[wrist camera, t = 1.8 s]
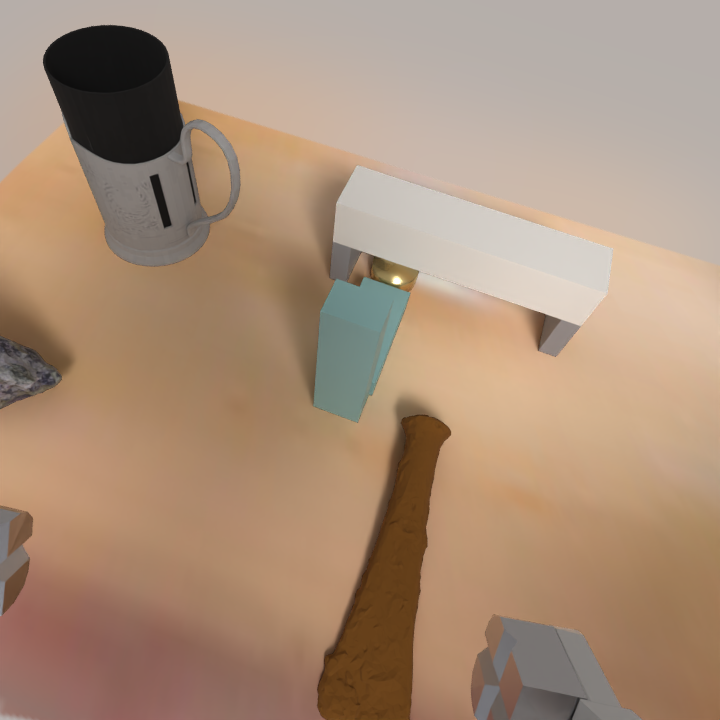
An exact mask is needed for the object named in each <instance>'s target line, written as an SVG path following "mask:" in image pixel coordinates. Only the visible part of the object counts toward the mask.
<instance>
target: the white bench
mask: <svg viewBox="0 0 720 720" xmlns="http://www.w3.org/2000/svg"><path fill="white" fill-rule="evenodd" d="M361 251H362V252H365V253H368V254H371V255H374V256H377V257H380V258H383V259H386V260H388V261H391V262H394V263H397V264H400V265H403V266H406V267H409V268H412V269H415V270H418V271H421V272H424V273H427V274H429V275H432V276H435V277H438V278H441V279H444V280H447V281H450V282H453V283H456V284H459V285H462V286H465V287H467V288H470V289H473V290H476V291H479V292H482V293H485V294H488V295H491V296H494V297H497V298H500V299H503V300H506V301H508V302H511V303H514V304H517V305H520V306H523V307H526V308H529V309H532V310H535V311H538V312H541V313H544V314H546V316H545V321H544V326H543V331H542V335H541V340H540V345H539V350H538V351H541V352H543V353H546V354H549V355H552V356H555V357H556V356H557V355H558V354H559V352H560V351H561V350H562V349H563V348H564V346H565V345H566V344H567V343H568V341H569V340H570V339H571V338H572V337H573V335H574V334H575V333H576V332H577V330H578V329H579V328H580V327H581V326H582V324H583V323H584V322H585V321H586V319H587V318H588V317H589V316H590V314H591V313H592V312H593V311H594V310H595V308H596V307H597V306H598V305H599V303H600V302H601V301H602V300H603V299H604V297H605V296H606V295H607V293H608V286H609V278H610V271H611V263H612V255H613V249H612V248H609V247H606V246H603V245H600V244H597V243H594V242H591V241H588V240H585V239H582V238H579V237H576V236H573V235H570V234H567V233H564V232H561V231H557V230H554V229H551V228H548V227H545V226H542V225H539V224H536V223H533V222H530V221H527V220H524V219H521V218H518V217H515V216H512V215H509V214H506V213H502V212H499V211H496V210H493V209H490V208H487V207H484V206H481V205H478V204H475V203H472V202H469V201H466V200H463V199H460V198H457V197H454V196H451V195H448V194H444V193H441V192H438V191H435V190H432V189H429V188H426V187H423V186H420V185H417V184H414V183H411V182H408V181H405V180H402V179H399V178H396V177H393V176H389V175H386V174H383V173H380V172H377V171H374V170H371V169H368V168H365V167H362V166H359V165H357V166H356V168H355V170H354V172H353V174H352V175H351V177H350V179H349V181H348V183H347V184H346V186H345V188H344V190H343V192H342V194H341V195H340V197H339V199H338V201H337V203H336V213H335V224H334V235H333V246H332V257H331V268H330V278H331V279H334V280H336V279H339V280H342V281H345V282H347V281H348V279H349V276H350V274H351V272H352V270H353V268H354V266H355V264H356V262H357V260H358V258H359V256H360V253H361Z"/></svg>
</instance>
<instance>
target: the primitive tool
mask: <svg viewBox="0 0 720 720" xmlns="http://www.w3.org/2000/svg"><path fill="white" fill-rule="evenodd" d="M401 424H402V426H403V429H404V431H405V434H406V443H405V447H404V454H403V457H402V459H401V461H400V462H399V463H398V470H397V477H396V482H395V486H394V490H393V493H392V496H391V499H390V501H389V504H388V509H387V512H386V515H385V518H384V520H383V523H382V526H381V529H380V533H379V536H378V539H377V541H376V544H375V547H374V550H373V552H372V555H371V557H370V559H369V564H368V566H367V570H366V571H365V573H364V574H363V576H362V583H361V586H360V588H359V589H358V590H357V592H356V594H355V604H354V605H353V607H352V611H351V613H350V616H349V617H348V619H347V622H346V625H345V628H344V631H343V634H342V636H341V638H340V641H339V642H338V644H337V647H336V649H335V651H334V653H333V654H330V655H327V656H326V657H325V659H324V662H325V671H324V673H323V675H322V678H321V680H320V682H319V685H318V689H317V690H318V694H319V696H318V704H317V706H318V709H319V712H320V714H321V716H322V717H323V718H325V719H326V720H410V708H411V693H412V674H413V638H414V625H415V618H416V612H417V608H418V599H419V595H420V591H421V590H420V578H421V576H420V571H421V566H422V561H423V555H424V552H425V549H426V548H427V534H426V525H427V520H428V514H429V504H430V503H429V500H430V496H431V488H432V484H433V480H434V472H435V467H436V462H437V458H438V455H439V451H440V447H441V446H442V444H443V442H444V441H445V440H446V439H448V437H449V436H450V435H451V431H450V429H449V427H448V426H446V425H445V424H444V423H443V422H441V421H440V420H438V419H435V418H434V417H429V416H428V415H415V416H409V417H407V418H403V419H402V422H401Z"/></svg>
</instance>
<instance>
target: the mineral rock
mask: <svg viewBox="0 0 720 720" xmlns="http://www.w3.org/2000/svg"><path fill="white" fill-rule="evenodd" d="M61 380H62V376H61V374H60V373H59V372H58V371H57V369H56V368H55V367H53V366H52V365H49V364H48V363H46V362H45V361H44V360H43V359H42V357H41V356H40V355H39V354H38V353H37V352H36V351H35V350H33V349H30V348H28V347H25V346H22V345H20V344H18V343H16V342H14V341H11V340H9V339H6V338H4V337H2V336H0V409H1V408H3V407H6V406H8V405H10V404H12V403H14V402H16V401H18V400H22V399H25V398H27V397H30V396H34V395H36V394H38V393H43V392H44V391H46V390H48V389H51V388H53V387H55V386H56V385H57V384H58V383H59V382H60V381H61Z"/></svg>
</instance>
